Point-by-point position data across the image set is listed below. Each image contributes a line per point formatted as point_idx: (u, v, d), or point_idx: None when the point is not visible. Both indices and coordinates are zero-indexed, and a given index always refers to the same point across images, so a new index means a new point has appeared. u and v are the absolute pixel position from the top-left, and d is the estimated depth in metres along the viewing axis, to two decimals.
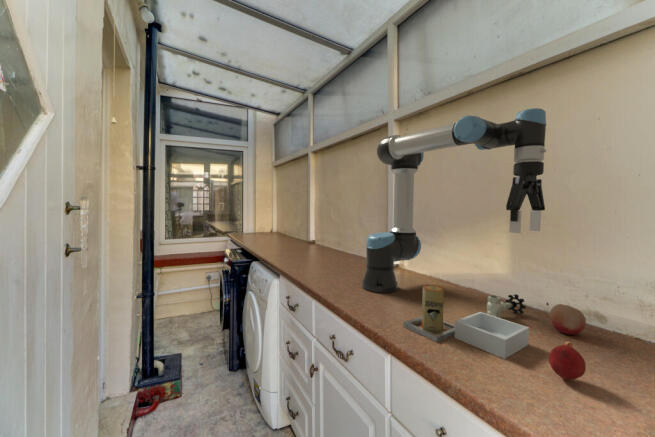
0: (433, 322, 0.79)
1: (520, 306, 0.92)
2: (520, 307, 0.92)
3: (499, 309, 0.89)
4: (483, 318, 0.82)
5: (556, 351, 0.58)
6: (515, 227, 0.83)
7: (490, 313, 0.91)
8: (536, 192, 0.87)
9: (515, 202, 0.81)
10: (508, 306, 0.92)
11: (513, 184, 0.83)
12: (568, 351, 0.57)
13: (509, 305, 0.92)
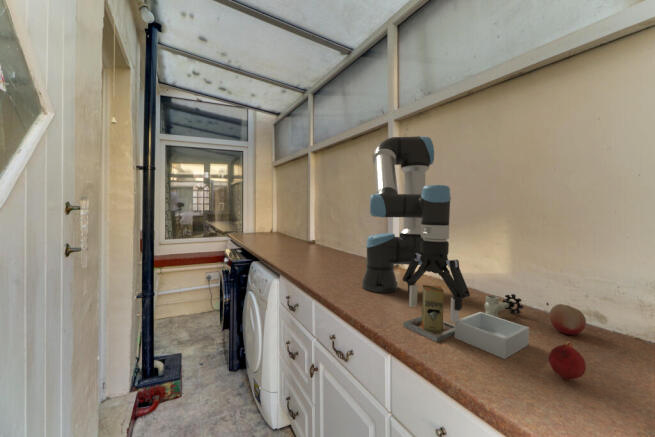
0: (433, 322, 0.79)
1: (517, 306, 0.93)
2: (517, 307, 0.93)
3: (497, 309, 0.89)
4: (483, 318, 0.82)
5: (556, 351, 0.58)
6: None
7: (488, 313, 0.90)
8: None
9: (404, 276, 0.88)
10: (505, 306, 0.92)
11: None
12: (568, 351, 0.57)
13: (506, 305, 0.92)
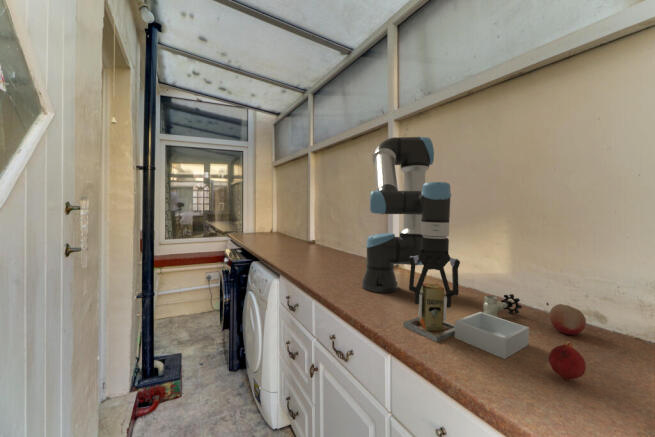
0: (434, 319, 0.80)
1: (516, 306, 0.93)
2: (516, 307, 0.93)
3: (496, 309, 0.89)
4: (483, 318, 0.82)
5: (556, 351, 0.58)
6: None
7: (487, 313, 0.90)
8: (440, 271, 0.79)
9: (409, 285, 0.82)
10: (504, 306, 0.92)
11: None
12: (568, 351, 0.57)
13: (505, 305, 0.92)
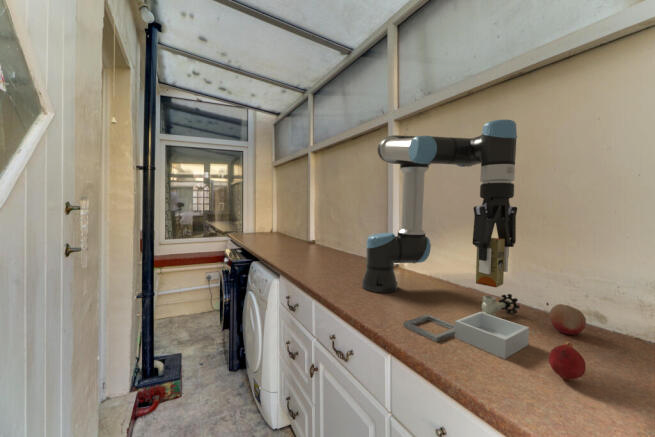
0: (500, 274, 0.73)
1: (514, 306, 0.93)
2: (514, 307, 0.93)
3: (494, 309, 0.89)
4: (483, 318, 0.82)
5: (556, 351, 0.58)
6: (484, 267, 0.72)
7: None
8: (505, 220, 0.72)
9: (480, 240, 0.70)
10: (502, 306, 0.92)
11: (475, 215, 0.71)
12: (568, 351, 0.57)
13: (503, 305, 0.92)
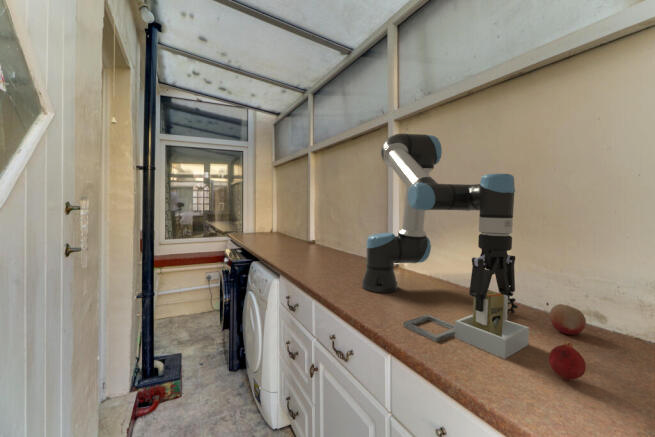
0: (495, 329, 0.73)
1: (511, 306, 0.93)
2: (511, 307, 0.93)
3: None
4: None
5: (556, 351, 0.58)
6: (481, 317, 0.72)
7: None
8: (503, 270, 0.73)
9: (477, 292, 0.70)
10: None
11: (473, 267, 0.72)
12: (568, 351, 0.57)
13: None
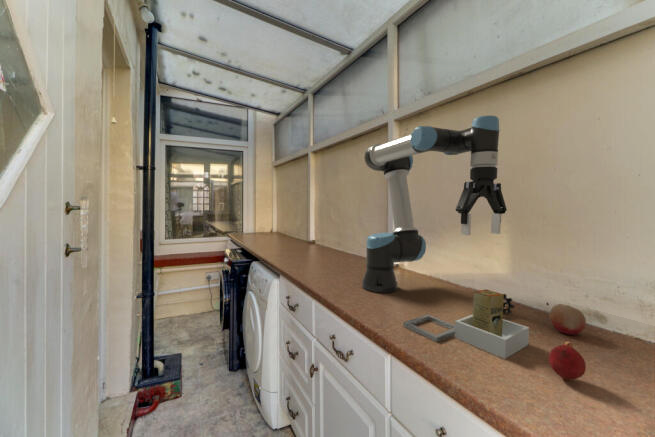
0: (495, 329, 0.73)
1: (508, 305, 0.93)
2: (508, 306, 0.93)
3: None
4: None
5: (556, 351, 0.58)
6: (465, 229, 0.87)
7: None
8: (492, 196, 0.89)
9: (462, 206, 0.85)
10: None
11: (464, 188, 0.87)
12: (568, 351, 0.57)
13: None
